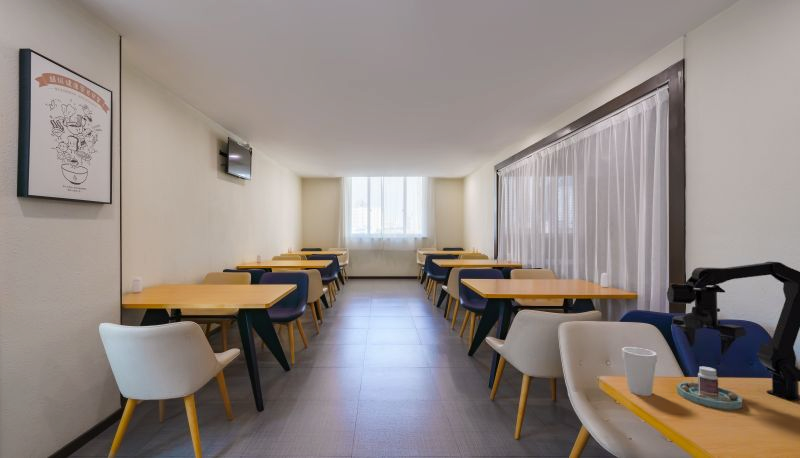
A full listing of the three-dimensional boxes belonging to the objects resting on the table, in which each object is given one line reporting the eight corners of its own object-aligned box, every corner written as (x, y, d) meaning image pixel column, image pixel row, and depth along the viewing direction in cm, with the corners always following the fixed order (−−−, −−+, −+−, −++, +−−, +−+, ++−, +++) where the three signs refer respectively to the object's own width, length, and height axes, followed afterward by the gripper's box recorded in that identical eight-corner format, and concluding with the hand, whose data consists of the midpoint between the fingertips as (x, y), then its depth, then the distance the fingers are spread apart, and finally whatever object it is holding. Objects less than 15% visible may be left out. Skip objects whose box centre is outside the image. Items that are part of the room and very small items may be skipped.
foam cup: (651, 388, 116) (650, 348, 116) (662, 399, 107) (661, 357, 108) (619, 384, 119) (618, 345, 120) (627, 395, 110) (626, 353, 111)
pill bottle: (722, 399, 106) (721, 371, 106) (704, 398, 107) (704, 370, 107) (711, 393, 110) (711, 366, 111) (694, 391, 111) (694, 365, 112)
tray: (698, 385, 118) (697, 377, 118) (754, 405, 104) (754, 396, 104) (666, 391, 113) (666, 382, 113) (720, 413, 99) (720, 403, 99)
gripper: (660, 301, 125) (661, 345, 124) (722, 311, 107) (724, 362, 106) (682, 299, 128) (683, 342, 127) (746, 309, 110) (747, 359, 110)
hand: (707, 350), depth 118 cm, fingers open, 9 cm apart
